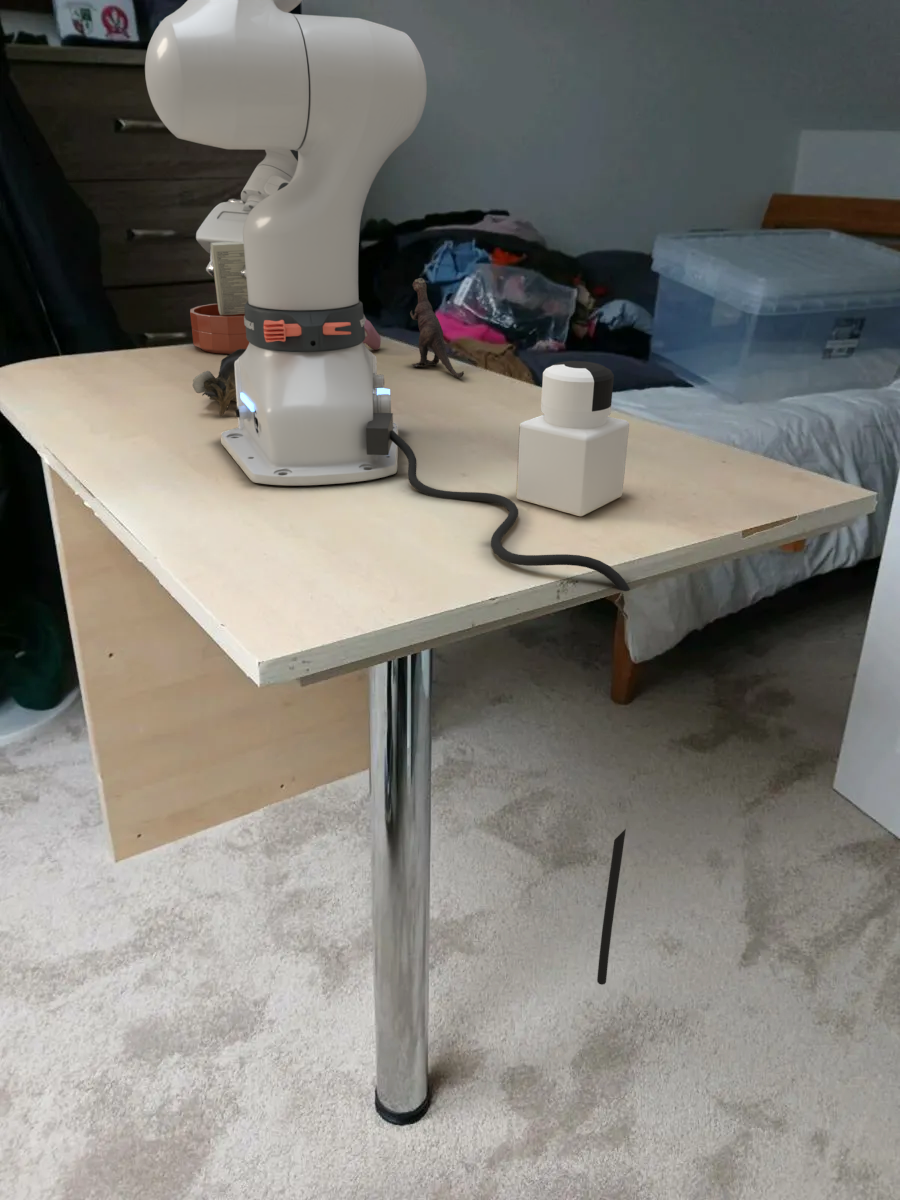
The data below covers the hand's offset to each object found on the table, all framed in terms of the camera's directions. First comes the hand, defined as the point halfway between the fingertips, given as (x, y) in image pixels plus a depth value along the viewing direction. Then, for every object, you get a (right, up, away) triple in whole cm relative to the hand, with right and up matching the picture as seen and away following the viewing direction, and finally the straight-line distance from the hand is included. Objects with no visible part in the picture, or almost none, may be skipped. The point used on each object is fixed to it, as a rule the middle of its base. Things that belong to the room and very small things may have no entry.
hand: (228, 276), depth 140 cm
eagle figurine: (+7, -25, -28) cm, 38 cm away
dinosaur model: (+31, -16, -9) cm, 37 cm away
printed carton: (0, -5, +3) cm, 6 cm away
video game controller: (+17, -10, +3) cm, 20 cm away
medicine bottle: (+44, -39, -55) cm, 80 cm away
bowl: (0, -9, +5) cm, 10 cm away
